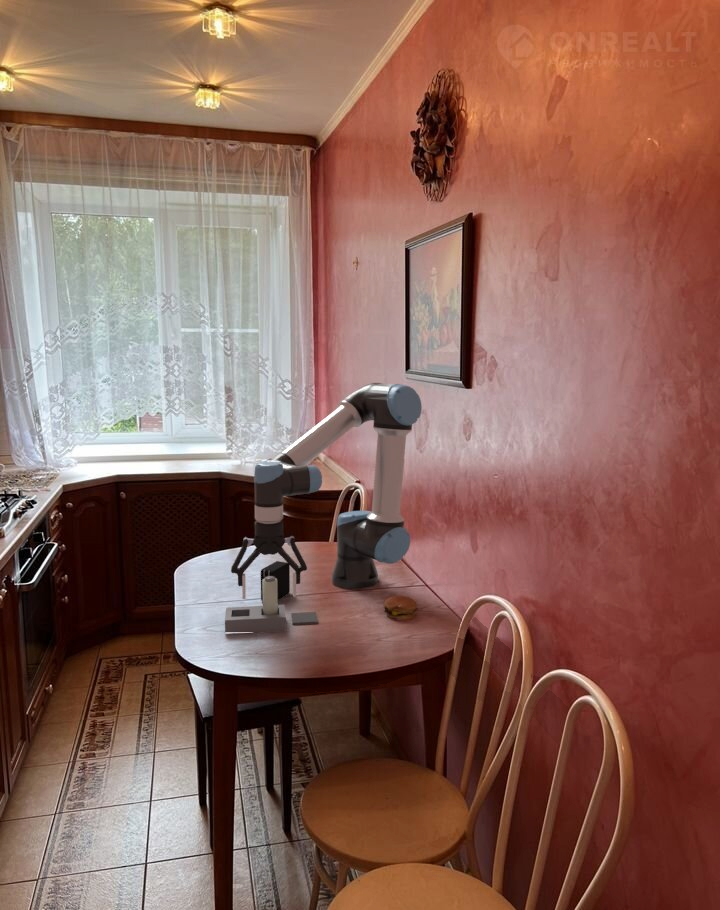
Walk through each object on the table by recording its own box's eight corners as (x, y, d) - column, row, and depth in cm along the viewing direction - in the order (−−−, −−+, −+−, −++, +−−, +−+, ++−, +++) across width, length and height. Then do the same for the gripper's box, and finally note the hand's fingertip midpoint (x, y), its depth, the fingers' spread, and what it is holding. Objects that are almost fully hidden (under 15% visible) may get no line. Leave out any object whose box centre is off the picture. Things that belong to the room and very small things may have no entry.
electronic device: (290, 593, 210) (289, 562, 208) (272, 604, 201) (272, 571, 199) (278, 591, 212) (278, 560, 210) (260, 601, 203) (260, 569, 201)
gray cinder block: (284, 618, 191) (284, 604, 190) (285, 631, 182) (285, 617, 181) (226, 621, 188) (226, 607, 188) (225, 634, 179) (224, 620, 179)
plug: (277, 622, 188) (277, 575, 186) (278, 628, 184) (277, 580, 182) (263, 622, 187) (262, 575, 185) (263, 628, 183) (262, 580, 181)
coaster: (315, 613, 194) (315, 611, 194) (318, 623, 187) (318, 621, 187) (291, 615, 193) (291, 613, 193) (292, 624, 186) (292, 622, 186)
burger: (412, 607, 200) (412, 592, 199) (421, 619, 191) (421, 604, 190) (380, 609, 198) (380, 594, 197) (387, 622, 189) (387, 606, 188)
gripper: (314, 515, 186) (314, 589, 190) (222, 517, 183) (223, 593, 186) (316, 522, 179) (316, 599, 182) (220, 524, 175) (221, 603, 179)
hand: (269, 596), depth 184 cm, fingers open, 13 cm apart
